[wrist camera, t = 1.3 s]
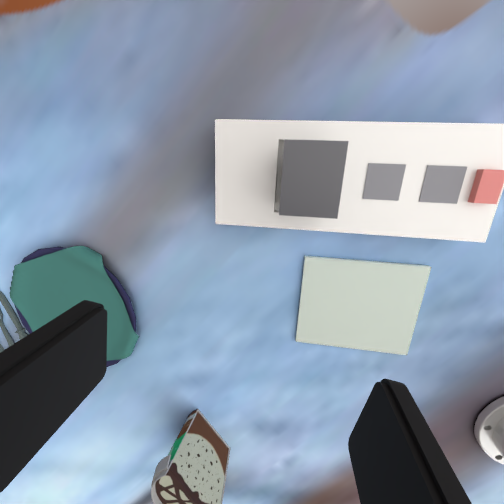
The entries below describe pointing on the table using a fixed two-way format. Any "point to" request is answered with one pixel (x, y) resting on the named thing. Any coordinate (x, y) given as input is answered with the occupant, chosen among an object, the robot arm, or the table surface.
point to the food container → (193, 466)
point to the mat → (360, 303)
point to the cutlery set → (69, 295)
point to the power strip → (368, 176)
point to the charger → (312, 178)
